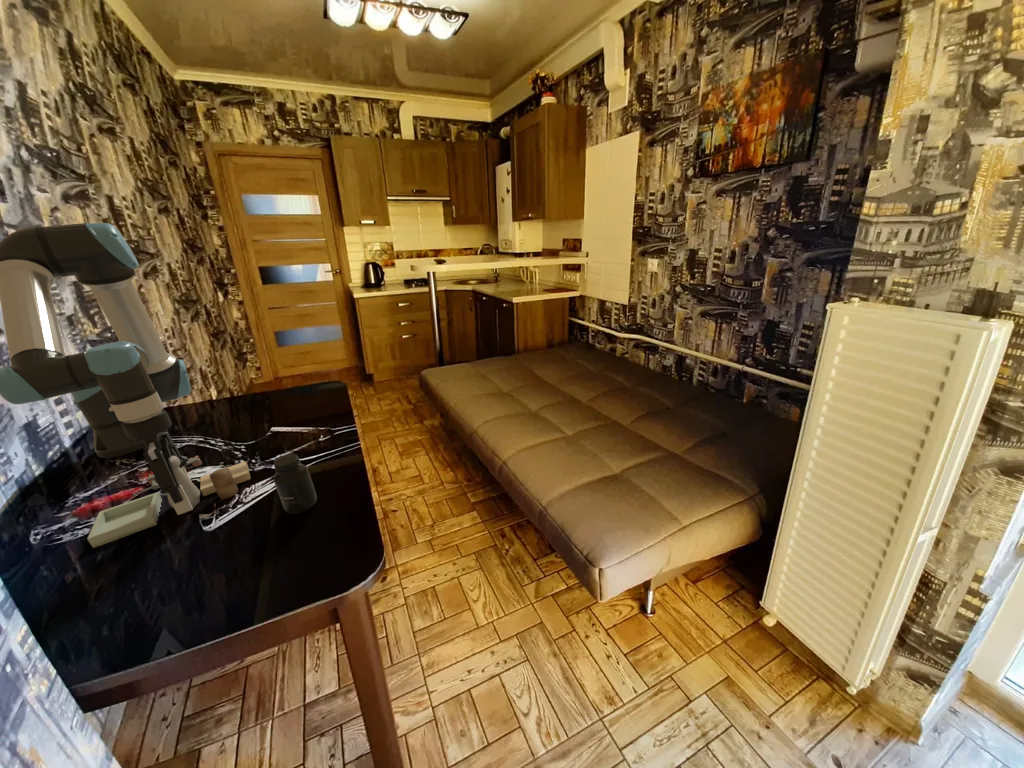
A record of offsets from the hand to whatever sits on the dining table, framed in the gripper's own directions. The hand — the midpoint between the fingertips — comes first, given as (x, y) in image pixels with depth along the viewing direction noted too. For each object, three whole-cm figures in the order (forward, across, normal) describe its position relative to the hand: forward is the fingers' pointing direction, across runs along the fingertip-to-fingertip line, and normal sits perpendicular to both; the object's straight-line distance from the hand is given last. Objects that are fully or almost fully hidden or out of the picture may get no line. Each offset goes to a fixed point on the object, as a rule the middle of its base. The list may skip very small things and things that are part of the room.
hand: (186, 501), depth 94 cm
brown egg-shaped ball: (+1, +1, +8) cm, 8 cm away
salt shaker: (+2, 0, 0) cm, 2 cm away
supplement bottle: (+2, +18, +22) cm, 28 cm away
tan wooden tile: (+2, -6, +8) cm, 10 cm away
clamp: (+2, -20, -6) cm, 21 cm away
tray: (+1, -2, -11) cm, 11 cm away
